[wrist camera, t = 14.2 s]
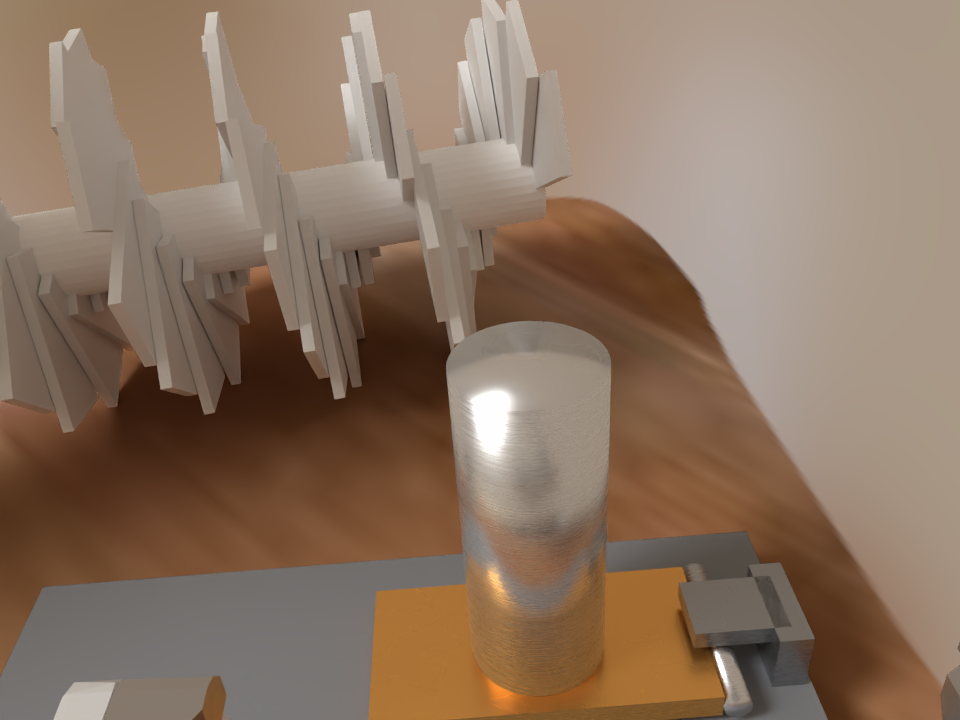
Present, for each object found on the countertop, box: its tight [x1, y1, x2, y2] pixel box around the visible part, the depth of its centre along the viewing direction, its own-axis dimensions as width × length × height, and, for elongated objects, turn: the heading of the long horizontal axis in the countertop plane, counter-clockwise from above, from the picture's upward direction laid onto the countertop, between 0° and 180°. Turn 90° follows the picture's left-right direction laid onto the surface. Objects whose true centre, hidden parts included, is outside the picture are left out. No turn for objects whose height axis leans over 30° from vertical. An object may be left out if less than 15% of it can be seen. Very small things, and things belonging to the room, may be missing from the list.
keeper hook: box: [678, 562, 815, 687], centre depth 27 cm, size 3×3×2 cm
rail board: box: [0, 531, 828, 720], centre depth 28 cm, size 25×10×2 cm, turn 93°
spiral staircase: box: [0, 0, 572, 433], centre depth 42 cm, size 18×18×25 cm
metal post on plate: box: [368, 321, 753, 720], centre depth 25 cm, size 11×5×11 cm, turn 93°
